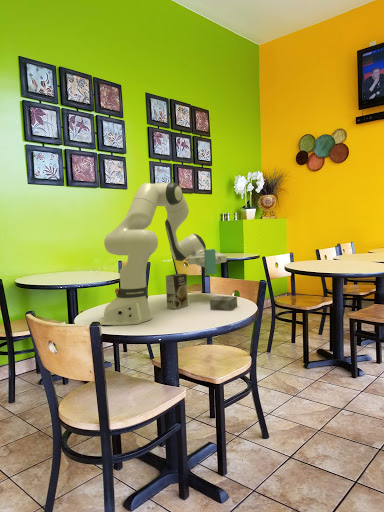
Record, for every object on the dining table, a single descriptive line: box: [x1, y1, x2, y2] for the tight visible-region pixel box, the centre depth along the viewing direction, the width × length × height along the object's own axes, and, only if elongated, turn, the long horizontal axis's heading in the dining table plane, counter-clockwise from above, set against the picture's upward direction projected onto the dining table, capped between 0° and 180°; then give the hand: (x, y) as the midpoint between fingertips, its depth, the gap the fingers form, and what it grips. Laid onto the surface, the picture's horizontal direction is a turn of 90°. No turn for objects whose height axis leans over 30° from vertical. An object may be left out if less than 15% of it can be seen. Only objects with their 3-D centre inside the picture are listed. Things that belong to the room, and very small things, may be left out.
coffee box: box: [165, 273, 189, 310], centre depth 194 cm, size 9×6×16 cm
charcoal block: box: [209, 295, 238, 312], centre depth 187 cm, size 10×10×5 cm
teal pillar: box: [204, 248, 217, 275], centre depth 199 cm, size 4×4×12 cm
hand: (210, 260), depth 198 cm, fingers closed on teal pillar, 4 cm apart
